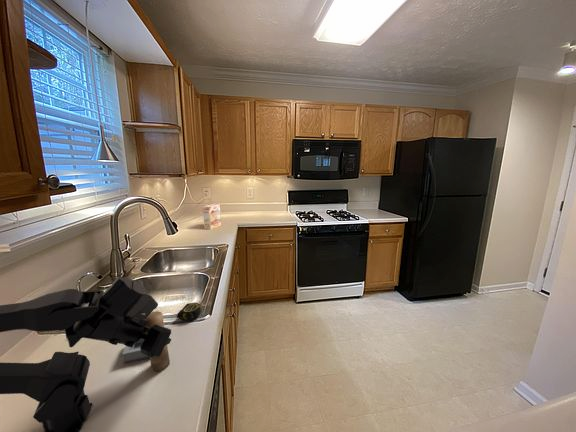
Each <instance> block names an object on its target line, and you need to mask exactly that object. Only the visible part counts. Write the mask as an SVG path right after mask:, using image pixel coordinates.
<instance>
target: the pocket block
mask: <svg viewBox="0 0 576 432" xmlns="http://www.w3.org/2000/svg"><path fill="white" fill-rule="evenodd" d="M144 340H145V339H140V340H139V342H135V343H134V345H133V347H128V346H126V345H125V346H124V349H123V351H122V354H121V357H122V361H123V362H122V363H123V364H128V363H133V362H136V361H140V360H145V359H150V357H149V356H147V355H145V354H143V353H141V349H140V347H141V345H142V344H143V342H144Z"/></svg>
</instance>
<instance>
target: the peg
mask: <svg viewBox="0 0 576 432" xmlns="http://www.w3.org/2000/svg"><path fill="white" fill-rule="evenodd" d="M163 316H164V315H163V312H161V311H158V310H156V311H152V312H151V313H150V315H149V316H148V317H147V318H145V319H144V320H147V321H148V322H147V324H146V325H145V327H147V328H151V327H153V326H154V325H156V324H157V325H160V326H163V327H165V322H164V321H165V320H164V317H163ZM145 333H146V332H145ZM146 334H148V333H146ZM149 361H150V362H149V363H150V367H151V371H152V372H154V373H159V372H162V371H164V370H167V368H168V367H169V366H170V362H171V360H170V354H169V349H168V345H166V346H165V347H164V349H163V351H162V353H161V355H160V357H158V358H151V357H150V358H149Z"/></svg>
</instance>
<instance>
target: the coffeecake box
mask: <svg viewBox="0 0 576 432" xmlns="http://www.w3.org/2000/svg"><path fill="white" fill-rule="evenodd" d="M202 215H203V225H204V229H205V230H213V229H215V228H218V227H221V226H222V217H221V216H222V215H221V204H220V203H212V204H208V205H203V206H202Z"/></svg>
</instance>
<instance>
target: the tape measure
mask: <svg viewBox="0 0 576 432" xmlns="http://www.w3.org/2000/svg"><path fill="white" fill-rule="evenodd" d="M201 313H202V307H201V304H200V303H199V302H191V303H186V304H185V305H184V306H183V307H182V308H181V309H180V310H179V311H178V312H177V315H176V319H177V318H178V319H179V320H180V321H181V320H186V321H192V320H194V319H196V318H198V317H199V316H200V315H201Z"/></svg>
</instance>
